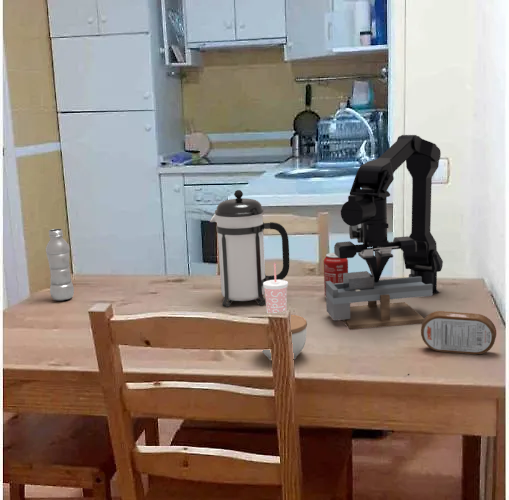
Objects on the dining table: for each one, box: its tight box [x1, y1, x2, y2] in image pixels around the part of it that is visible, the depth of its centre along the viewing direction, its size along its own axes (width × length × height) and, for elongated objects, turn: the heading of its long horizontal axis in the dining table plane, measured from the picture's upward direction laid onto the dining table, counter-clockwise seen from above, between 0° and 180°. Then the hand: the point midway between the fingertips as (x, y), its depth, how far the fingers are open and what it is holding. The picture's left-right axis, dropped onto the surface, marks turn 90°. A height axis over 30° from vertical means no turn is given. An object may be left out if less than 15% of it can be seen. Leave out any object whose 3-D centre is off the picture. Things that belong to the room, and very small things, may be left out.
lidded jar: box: [261, 314, 308, 361], centre depth 148 cm, size 11×11×9 cm
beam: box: [325, 276, 433, 321], centre depth 170 cm, size 24×9×8 cm, turn 97°
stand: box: [342, 294, 425, 330], centre depth 170 cm, size 18×14×7 cm
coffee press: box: [209, 189, 290, 308], centre depth 187 cm, size 17×16×30 cm
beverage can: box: [323, 252, 349, 297], centre depth 187 cm, size 6×6×12 cm
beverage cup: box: [263, 262, 289, 314], centre depth 173 cm, size 6×6×14 cm
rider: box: [343, 270, 374, 291], centre depth 168 cm, size 6×6×4 cm
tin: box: [420, 310, 497, 355], centre depth 146 cm, size 15×3×8 cm, turn 70°
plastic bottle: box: [45, 228, 75, 301], centre depth 197 cm, size 6×7×20 cm
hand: (375, 282), depth 169 cm, fingers closed
